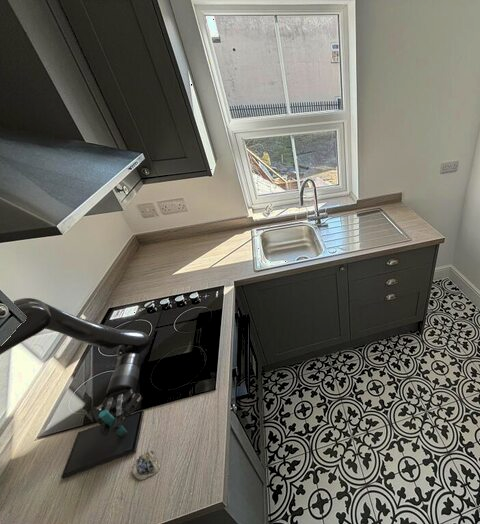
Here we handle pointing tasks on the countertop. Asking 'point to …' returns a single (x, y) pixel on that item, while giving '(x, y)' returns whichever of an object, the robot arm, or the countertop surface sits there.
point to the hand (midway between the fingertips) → (109, 432)
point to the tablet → (103, 446)
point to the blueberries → (145, 466)
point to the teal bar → (111, 422)
